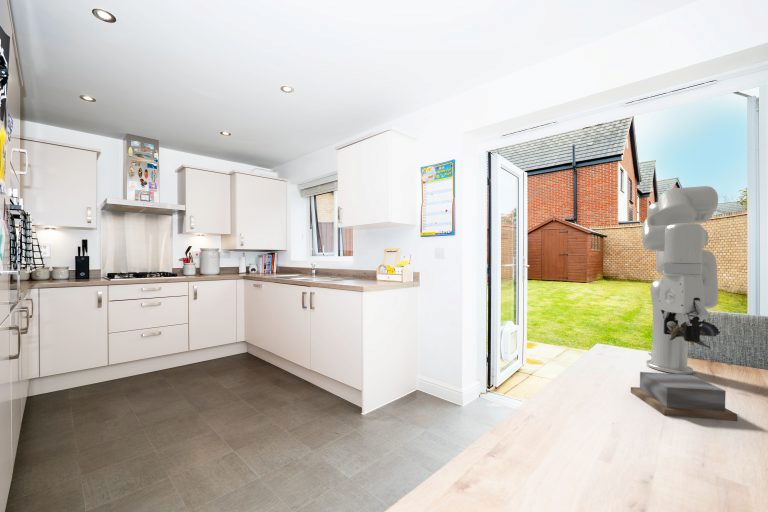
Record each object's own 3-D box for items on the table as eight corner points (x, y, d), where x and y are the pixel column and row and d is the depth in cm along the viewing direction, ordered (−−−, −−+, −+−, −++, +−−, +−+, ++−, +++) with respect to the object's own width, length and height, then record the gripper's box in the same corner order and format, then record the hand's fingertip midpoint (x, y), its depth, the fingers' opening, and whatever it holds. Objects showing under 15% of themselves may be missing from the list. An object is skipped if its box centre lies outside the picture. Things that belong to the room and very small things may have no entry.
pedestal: (630, 392, 97) (631, 369, 97) (692, 396, 95) (692, 373, 95) (664, 415, 83) (664, 389, 83) (737, 420, 81) (738, 393, 81)
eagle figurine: (684, 339, 84) (726, 340, 82) (672, 314, 88) (712, 314, 87) (669, 351, 90) (707, 352, 88) (658, 326, 94) (694, 326, 93)
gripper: (645, 268, 98) (644, 329, 98) (692, 271, 81) (690, 345, 81) (674, 269, 97) (672, 331, 97) (727, 272, 80) (725, 347, 80)
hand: (680, 337), depth 89 cm, fingers closed on eagle figurine, 6 cm apart
